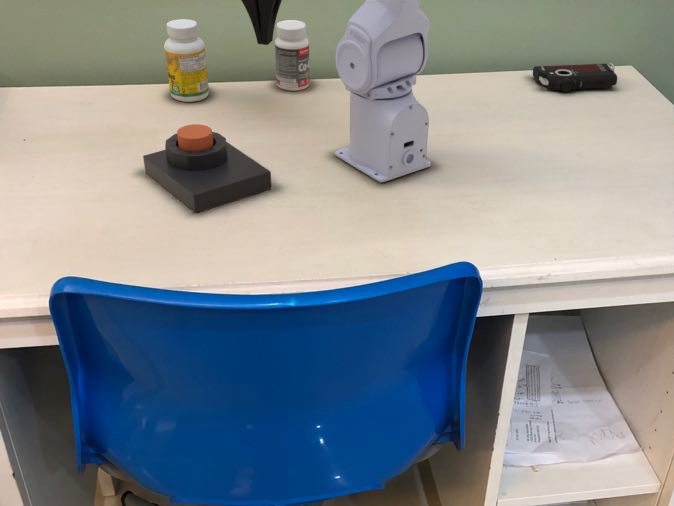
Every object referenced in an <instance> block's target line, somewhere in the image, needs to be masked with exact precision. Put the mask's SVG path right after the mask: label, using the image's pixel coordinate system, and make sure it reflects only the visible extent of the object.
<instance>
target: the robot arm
mask: <svg viewBox="0 0 674 506" xmlns="http://www.w3.org/2000/svg"><path fill="white" fill-rule="evenodd" d="M240 1H241V3H242V4H243V6H244V8H245V10H246V12H247V14H248V17H249V19H250V21H251V25H252V28H253V31H254V35H255V38H256V42H257V45H264V46H268V45H269V44H271V42H273V40H274V31H275V26H276V20H277V16H278V13H279V10H280V7H281V4H282V1H283V0H240ZM420 3H421V0H365V2H363V3H362V5H360V7H359V8H358V9H357V10H356V11H355V12H354V14H353V15H351V17H350V18H349V20H348V22H347V26H346V31H345V33H344V35H343V37H342V38H341V39H340V40H339V41H338V44H337V46H336V49H335V57H334V59H335V67H336V71H337V74H338V77H339V79H340V81H341V82H342V84H343V85H344V86H345V90H346V91H348V92H349V146H346V147H342V148H339V149H336V150H335V151H334V156H336V157H337V158H338V159H340V160H342V161H344V162H346V163H347V164H348V165H350V166H351V167H353V168H355V169H357V170H359V171H361V172H362V173H364V174H365V175H367V176H369V177H370V178H372V179H373V180H375V181H376V182H378V183H385V182H388V181H390V180H391V181H392V180H394V179H398V178H400V177H403V176H406V175H409V174H412V173H415V172H418V171H420V170H423V169H426V168H429V167H431V166H432V162H431V161H430V160H428V159H427V153H428V152H427V151H428V138H429V123H430V118H429V114H428V113H429V112H428V111H427V108H426V107H425V106H424V105H422V103H420V102H419V101H418V100H417V98H416V96H415V95H414V92H413V91H414V90H413V87H414V86H415V85H417V76H418V74H421V72H423V71H424V69H425V67H426V65H427V62H428V58H429V47H428V46H429V44H428V35H429V30H430V27H431V22H430V20H429V19H428V17H427V16H426V14H425V13H424V12H423V11H422V10H421V8H419V7H420Z"/></svg>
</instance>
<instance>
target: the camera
mask: <svg viewBox="0 0 674 506" xmlns="http://www.w3.org/2000/svg"><path fill="white" fill-rule="evenodd" d="M615 67H616V66H615V65H614V64H613V63H612V62H610V63H587V64H585V63H583V64H561V65H559V64H557V65H535V66H534V67H533V68H532V77H533V78H534V80H535V82H536V83H538V84H541V85H543V86H546V88H547V89H550V90H551V91H561V92H565V93H566V92H567V93H568V92H570V91H571V90H585V89H610V88H612V87H613V86H616V85H617V83H618V75H617V74H616V72H615V69H616V68H615Z"/></svg>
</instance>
